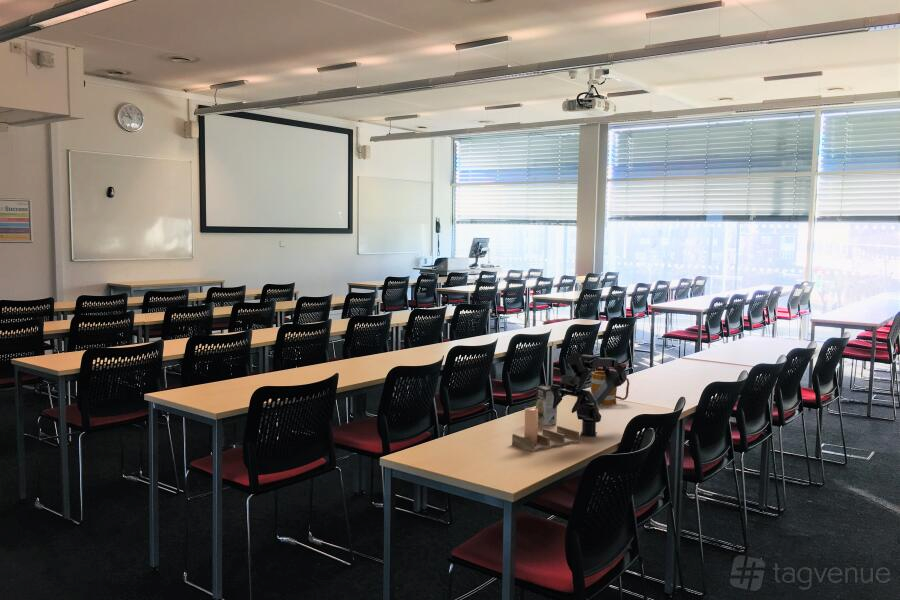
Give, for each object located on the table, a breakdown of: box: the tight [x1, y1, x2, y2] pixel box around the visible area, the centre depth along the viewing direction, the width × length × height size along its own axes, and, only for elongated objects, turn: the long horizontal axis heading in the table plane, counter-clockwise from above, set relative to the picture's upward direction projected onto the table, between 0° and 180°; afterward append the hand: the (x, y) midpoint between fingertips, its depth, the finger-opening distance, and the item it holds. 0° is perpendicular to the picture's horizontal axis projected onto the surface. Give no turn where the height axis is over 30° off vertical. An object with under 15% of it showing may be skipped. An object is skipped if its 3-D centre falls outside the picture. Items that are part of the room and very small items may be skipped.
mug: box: [590, 370, 630, 406], centre depth 374 cm, size 20×14×15 cm
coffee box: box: [535, 385, 558, 426], centre depth 331 cm, size 9×6×16 cm
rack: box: [511, 425, 580, 452], centre depth 298 cm, size 26×12×4 cm, turn 126°
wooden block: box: [523, 407, 539, 445], centre depth 293 cm, size 5×5×14 cm
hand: (562, 410), depth 297 cm, fingers open, 9 cm apart
